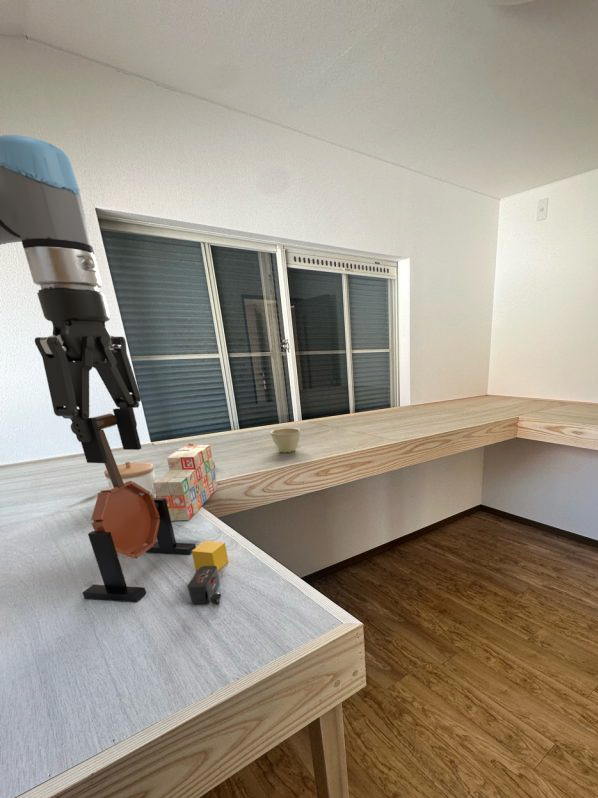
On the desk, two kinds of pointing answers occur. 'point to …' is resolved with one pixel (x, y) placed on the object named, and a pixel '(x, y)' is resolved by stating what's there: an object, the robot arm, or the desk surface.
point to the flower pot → (286, 439)
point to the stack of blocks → (187, 481)
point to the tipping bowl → (124, 506)
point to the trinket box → (136, 474)
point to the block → (210, 555)
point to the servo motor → (204, 586)
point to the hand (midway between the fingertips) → (115, 455)
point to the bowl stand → (111, 565)
